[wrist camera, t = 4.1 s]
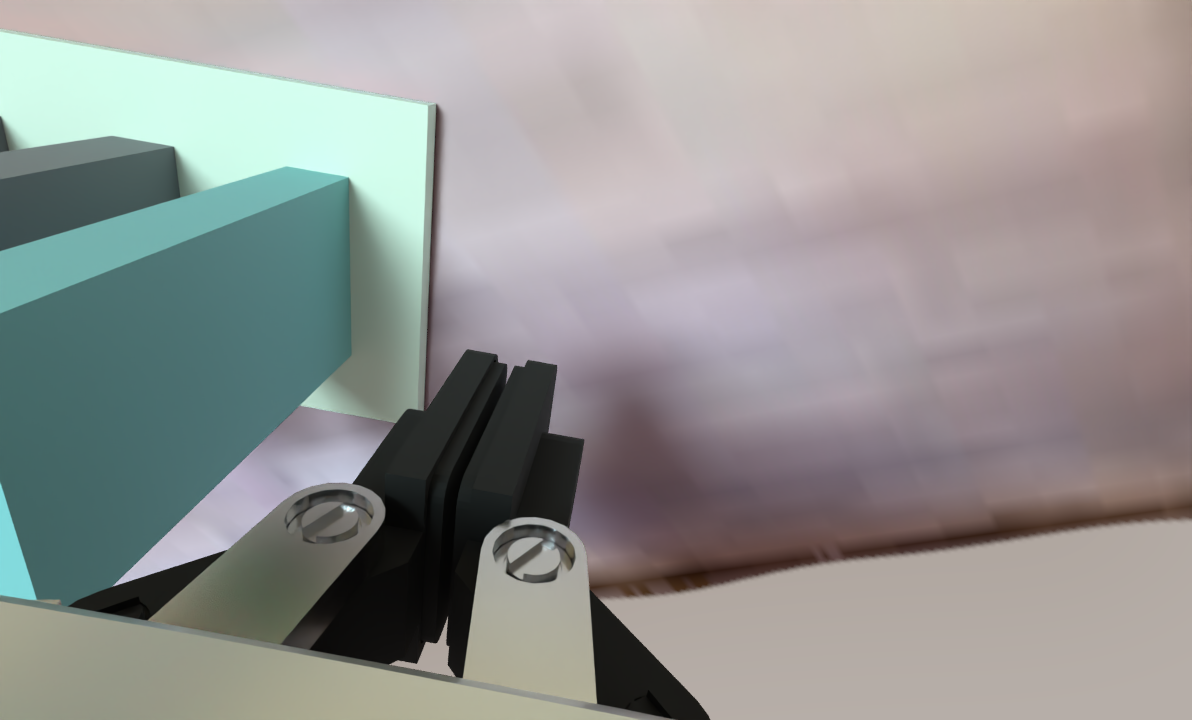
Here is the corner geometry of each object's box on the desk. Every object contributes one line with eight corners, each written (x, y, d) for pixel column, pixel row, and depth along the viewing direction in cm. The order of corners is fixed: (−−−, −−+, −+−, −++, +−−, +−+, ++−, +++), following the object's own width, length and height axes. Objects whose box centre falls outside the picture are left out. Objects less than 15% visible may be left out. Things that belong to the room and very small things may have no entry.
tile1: (348, 177, 16) (-47, 331, 7) (351, 355, 18) (51, 645, 9) (286, 166, 16) (-185, 306, 7) (296, 345, 18) (-56, 624, 9)
